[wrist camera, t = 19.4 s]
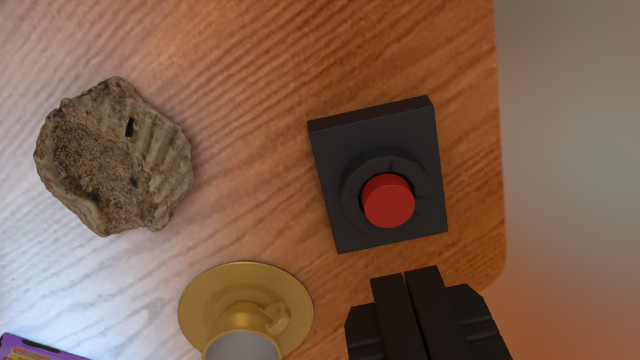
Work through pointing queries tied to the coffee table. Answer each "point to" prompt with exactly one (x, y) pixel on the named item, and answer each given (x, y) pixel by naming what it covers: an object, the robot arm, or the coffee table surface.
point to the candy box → (29, 350)
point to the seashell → (114, 159)
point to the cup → (245, 312)
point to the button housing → (379, 169)
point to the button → (387, 200)
